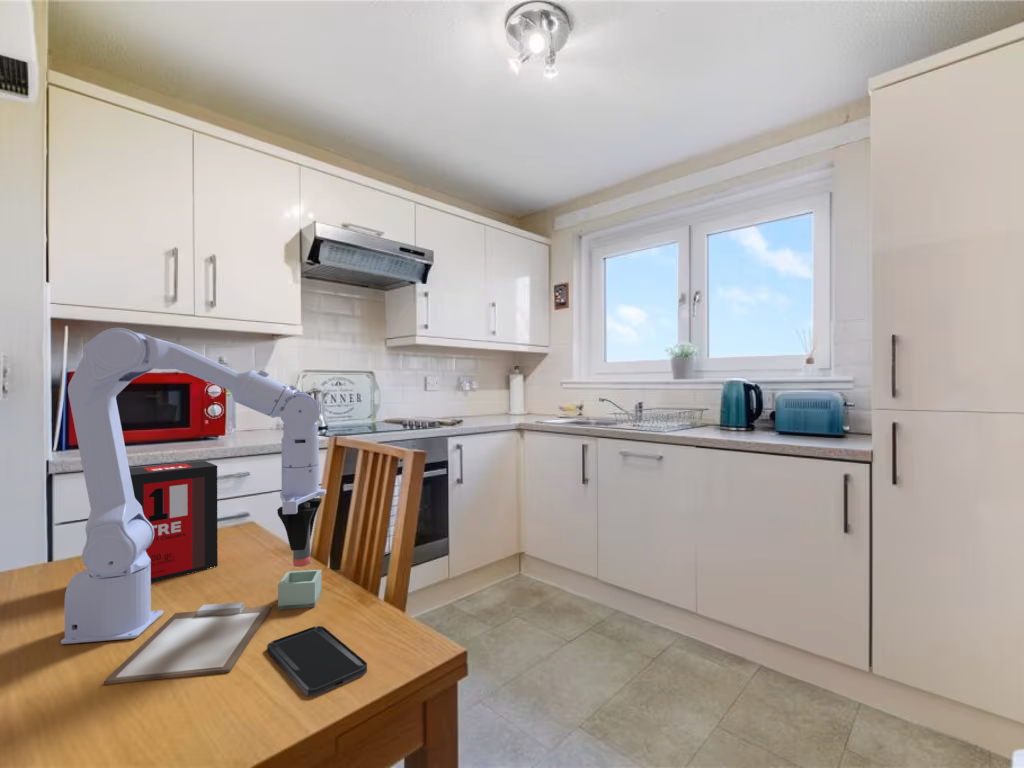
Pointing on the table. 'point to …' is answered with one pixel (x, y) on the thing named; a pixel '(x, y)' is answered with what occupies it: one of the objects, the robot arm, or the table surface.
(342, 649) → the phone
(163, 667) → the clipboard
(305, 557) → the marker
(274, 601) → the table surface
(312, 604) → the box
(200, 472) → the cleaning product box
